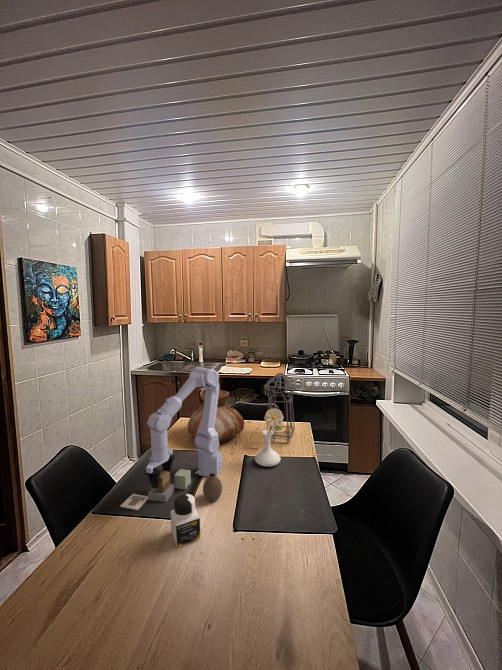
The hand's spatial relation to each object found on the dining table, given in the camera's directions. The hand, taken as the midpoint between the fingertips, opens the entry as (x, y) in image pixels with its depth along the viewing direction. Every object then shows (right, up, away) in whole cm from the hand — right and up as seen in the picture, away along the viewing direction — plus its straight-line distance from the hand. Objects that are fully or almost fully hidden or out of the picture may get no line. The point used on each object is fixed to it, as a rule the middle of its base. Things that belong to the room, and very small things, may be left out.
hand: (161, 481), depth 111 cm
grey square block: (0, -6, +1) cm, 6 cm away
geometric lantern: (+49, 0, +46) cm, 67 cm away
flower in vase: (+41, -3, +22) cm, 47 cm away
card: (-8, -6, -3) cm, 11 cm away
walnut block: (0, -3, 0) cm, 3 cm away
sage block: (+7, -5, +6) cm, 10 cm away
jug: (+15, -1, +50) cm, 52 cm away
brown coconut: (+19, -5, -2) cm, 20 cm away
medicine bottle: (+13, -7, -20) cm, 25 cm away
